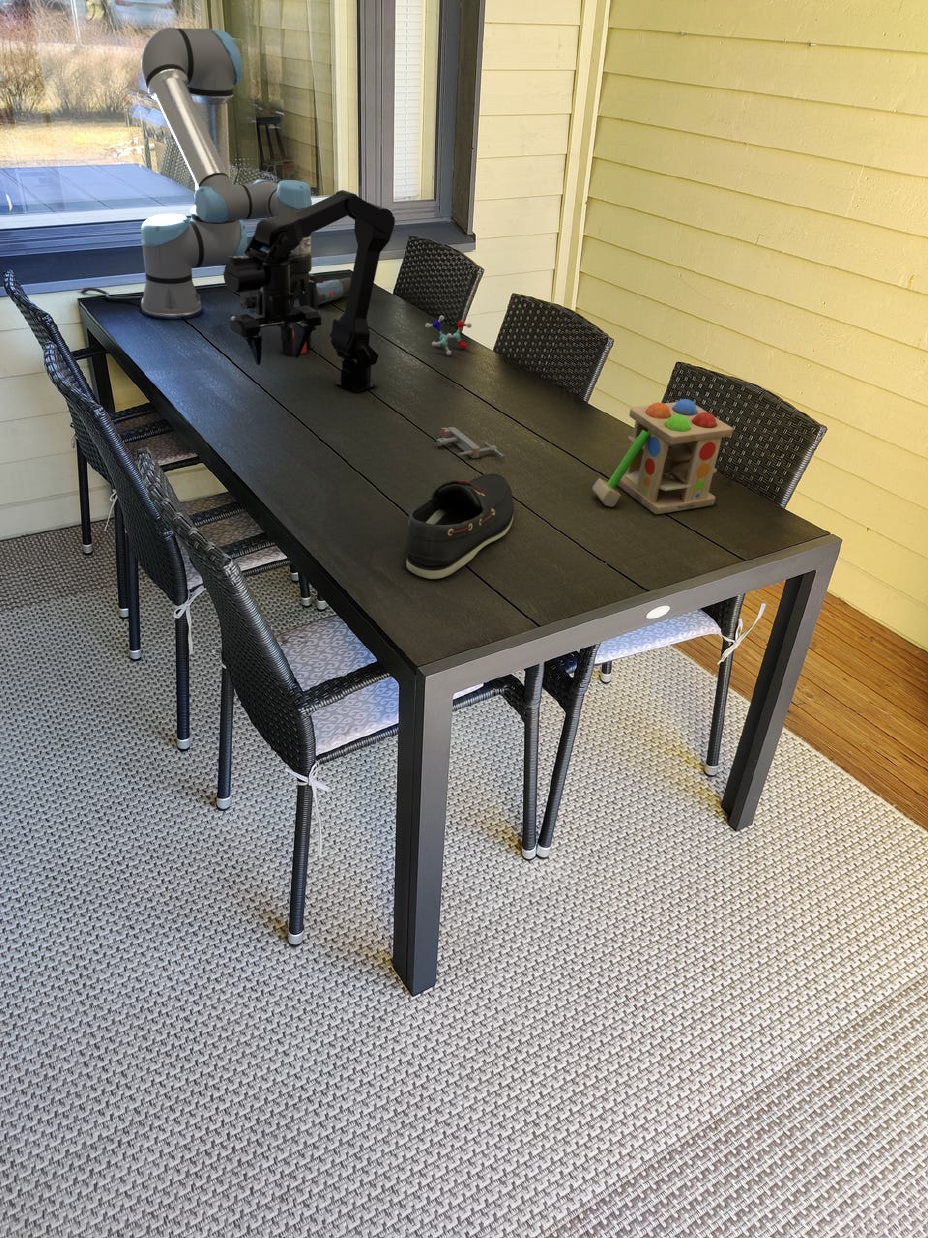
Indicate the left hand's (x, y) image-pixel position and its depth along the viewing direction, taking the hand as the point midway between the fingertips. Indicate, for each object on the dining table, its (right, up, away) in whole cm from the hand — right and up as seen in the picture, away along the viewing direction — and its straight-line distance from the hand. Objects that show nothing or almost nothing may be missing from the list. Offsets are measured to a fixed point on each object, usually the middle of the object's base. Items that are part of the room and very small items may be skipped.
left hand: (296, 349), depth 242 cm
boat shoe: (+41, -52, -70) cm, 96 cm away
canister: (0, 0, 0) cm, 0 cm away
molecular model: (+37, +3, +10) cm, 38 cm away
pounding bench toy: (+77, -43, -51) cm, 102 cm away
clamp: (+42, -32, -40) cm, 66 cm away
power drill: (-2, +27, +39) cm, 48 cm away
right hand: (+2, -12, -34) cm, 36 cm away
